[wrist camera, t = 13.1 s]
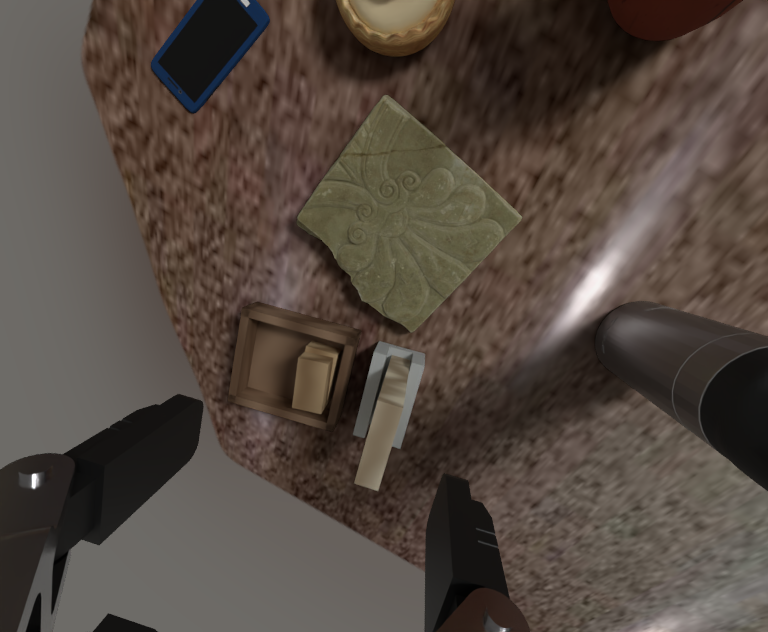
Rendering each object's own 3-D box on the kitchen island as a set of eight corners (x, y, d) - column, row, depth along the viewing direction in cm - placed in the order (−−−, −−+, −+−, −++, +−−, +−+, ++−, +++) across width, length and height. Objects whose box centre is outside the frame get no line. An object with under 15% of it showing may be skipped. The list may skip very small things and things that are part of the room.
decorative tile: (388, 98, 41) (384, 86, 37) (519, 219, 42) (527, 218, 38) (289, 229, 45) (278, 228, 42) (410, 335, 46) (409, 343, 43)
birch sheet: (410, 360, 45) (403, 408, 33) (391, 423, 47) (378, 491, 35) (391, 354, 45) (377, 400, 33) (374, 417, 48) (354, 483, 35)
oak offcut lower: (342, 349, 46) (337, 354, 44) (330, 398, 48) (325, 406, 45) (312, 340, 46) (306, 345, 44) (301, 390, 48) (295, 397, 46)
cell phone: (274, 22, 40) (271, 18, 40) (195, 117, 44) (191, 115, 43) (227, -33, 40) (224, -38, 39) (151, 68, 43) (147, 65, 42)
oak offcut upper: (333, 357, 44) (328, 364, 42) (326, 405, 45) (321, 414, 43) (304, 351, 44) (298, 357, 42) (298, 399, 46) (291, 407, 43)
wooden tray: (361, 330, 46) (355, 339, 42) (340, 416, 49) (332, 432, 45) (257, 301, 47) (242, 307, 43) (243, 388, 50) (227, 401, 46)
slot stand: (425, 353, 46) (424, 366, 42) (402, 429, 48) (400, 448, 44) (379, 341, 46) (373, 352, 42) (359, 417, 49) (352, 434, 45)
